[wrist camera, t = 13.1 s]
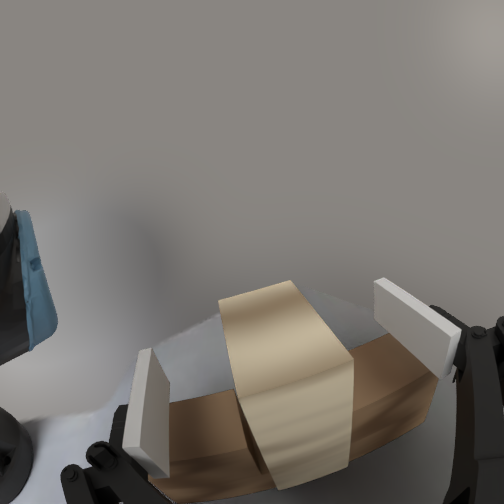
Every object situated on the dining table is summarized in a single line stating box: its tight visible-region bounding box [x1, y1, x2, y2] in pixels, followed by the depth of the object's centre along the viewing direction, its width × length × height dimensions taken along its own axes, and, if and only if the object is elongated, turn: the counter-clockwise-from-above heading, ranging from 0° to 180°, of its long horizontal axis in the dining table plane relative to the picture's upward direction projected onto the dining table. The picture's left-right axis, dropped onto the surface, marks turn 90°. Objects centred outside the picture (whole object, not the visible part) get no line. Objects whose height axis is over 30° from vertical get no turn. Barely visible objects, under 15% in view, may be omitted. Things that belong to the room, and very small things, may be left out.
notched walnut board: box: [148, 333, 439, 504], centre depth 16 cm, size 20×5×7 cm, turn 101°
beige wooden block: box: [218, 280, 354, 491], centre depth 15 cm, size 8×4×10 cm, turn 11°
